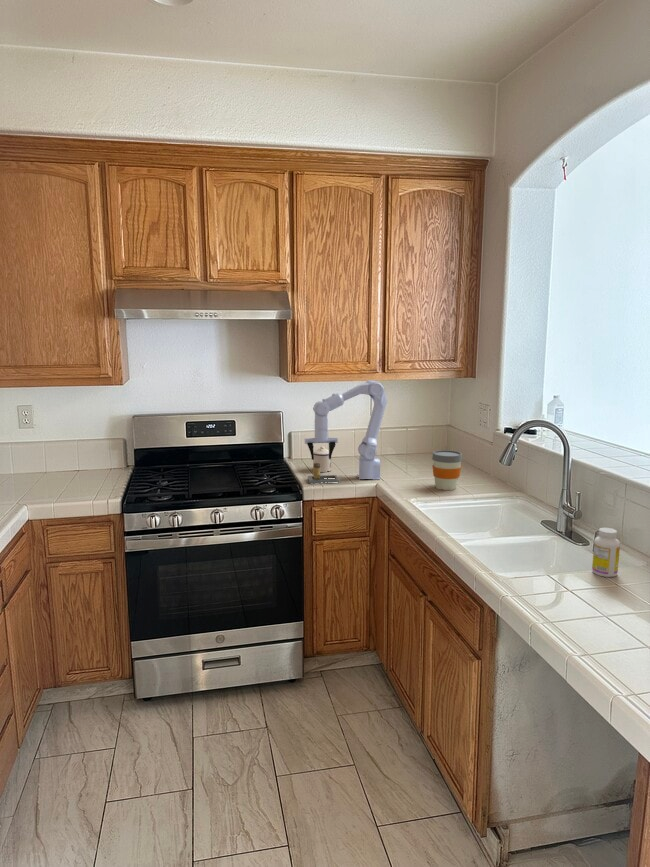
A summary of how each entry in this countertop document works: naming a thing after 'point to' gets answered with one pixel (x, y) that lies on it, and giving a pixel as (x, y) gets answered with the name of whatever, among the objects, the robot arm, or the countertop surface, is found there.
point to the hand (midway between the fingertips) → (321, 459)
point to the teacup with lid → (322, 459)
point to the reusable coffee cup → (446, 468)
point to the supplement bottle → (606, 553)
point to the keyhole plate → (323, 479)
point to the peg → (316, 471)
